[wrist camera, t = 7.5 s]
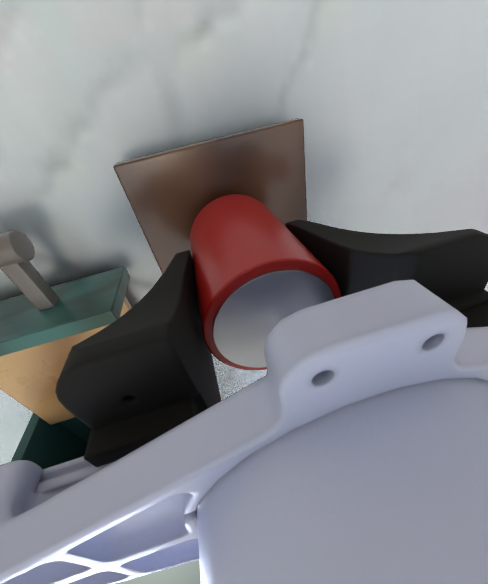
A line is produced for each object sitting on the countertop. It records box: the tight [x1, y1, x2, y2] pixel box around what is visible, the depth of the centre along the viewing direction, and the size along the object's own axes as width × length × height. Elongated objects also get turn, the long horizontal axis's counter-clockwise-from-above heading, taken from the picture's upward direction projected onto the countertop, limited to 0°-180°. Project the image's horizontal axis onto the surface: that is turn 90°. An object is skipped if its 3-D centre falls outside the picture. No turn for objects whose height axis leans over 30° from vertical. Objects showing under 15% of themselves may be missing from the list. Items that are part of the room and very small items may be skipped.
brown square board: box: [113, 118, 307, 274], centre depth 15 cm, size 9×9×2 cm
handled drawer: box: [0, 231, 132, 425], centre depth 16 cm, size 13×16×4 cm
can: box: [190, 194, 341, 370], centre depth 11 cm, size 5×5×7 cm
